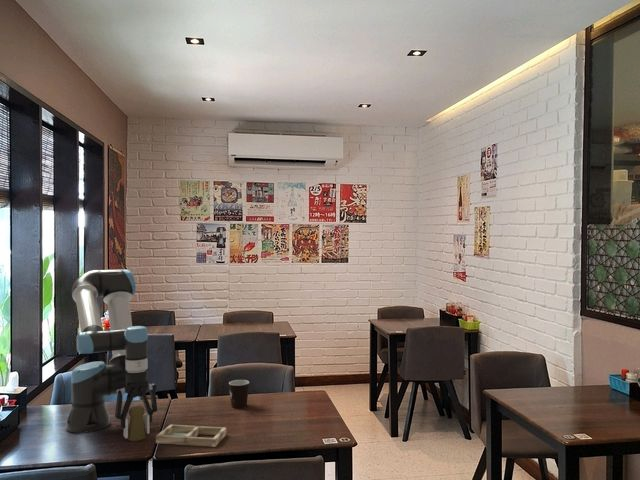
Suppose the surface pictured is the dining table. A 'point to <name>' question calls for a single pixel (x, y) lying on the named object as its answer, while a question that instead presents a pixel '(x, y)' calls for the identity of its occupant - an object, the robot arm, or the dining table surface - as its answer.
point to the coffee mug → (239, 393)
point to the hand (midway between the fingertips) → (136, 434)
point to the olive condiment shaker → (136, 424)
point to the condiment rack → (191, 435)
